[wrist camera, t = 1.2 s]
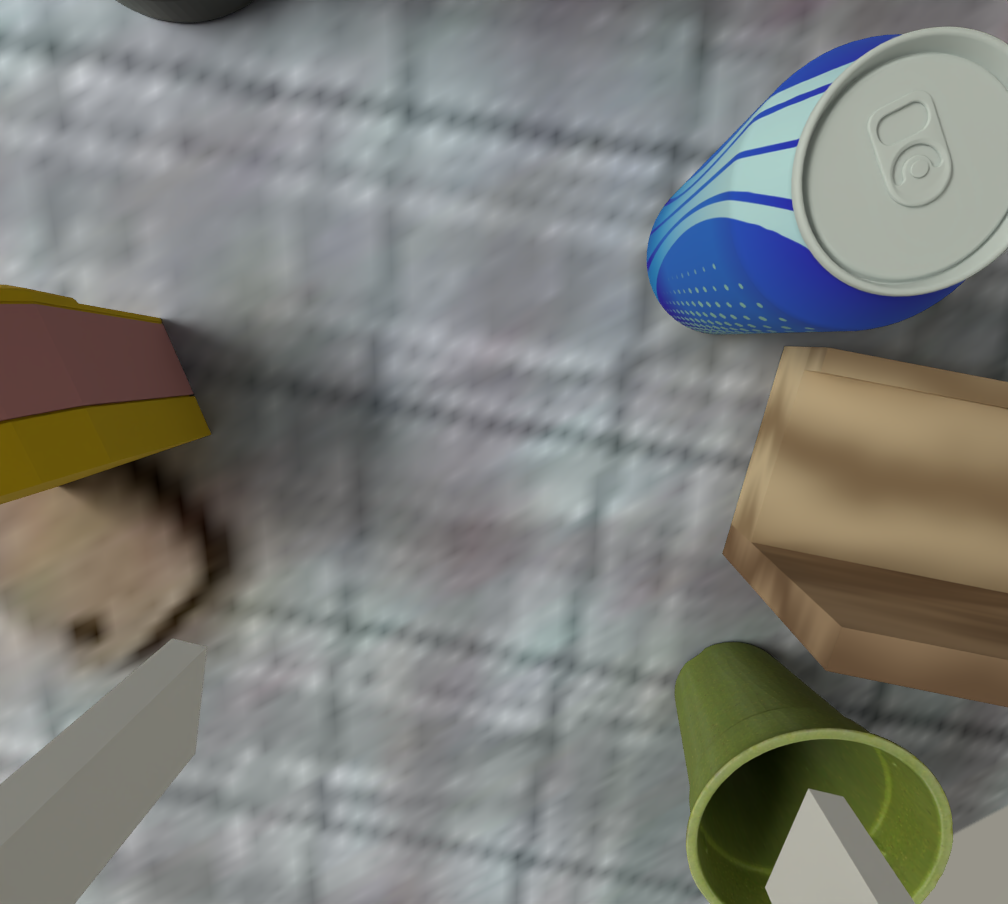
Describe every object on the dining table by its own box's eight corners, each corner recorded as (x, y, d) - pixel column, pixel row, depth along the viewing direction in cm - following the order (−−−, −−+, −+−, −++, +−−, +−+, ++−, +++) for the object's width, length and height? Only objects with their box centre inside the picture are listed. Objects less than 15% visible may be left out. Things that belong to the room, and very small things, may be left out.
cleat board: (784, 346, 30) (942, 350, 19) (1130, 413, 30) (1510, 460, 18) (722, 553, 33) (826, 670, 21) (1038, 616, 33) (1318, 769, 21)
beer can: (817, 196, 29) (1157, 25, 13) (765, 349, 31) (1008, 361, 15) (666, 160, 29) (826, -54, 13) (623, 315, 31) (718, 290, 15)
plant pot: (842, 734, 35) (982, 912, 24) (671, 782, 37) (729, 970, 26) (794, 580, 33) (922, 699, 22) (614, 638, 35) (652, 776, 24)
